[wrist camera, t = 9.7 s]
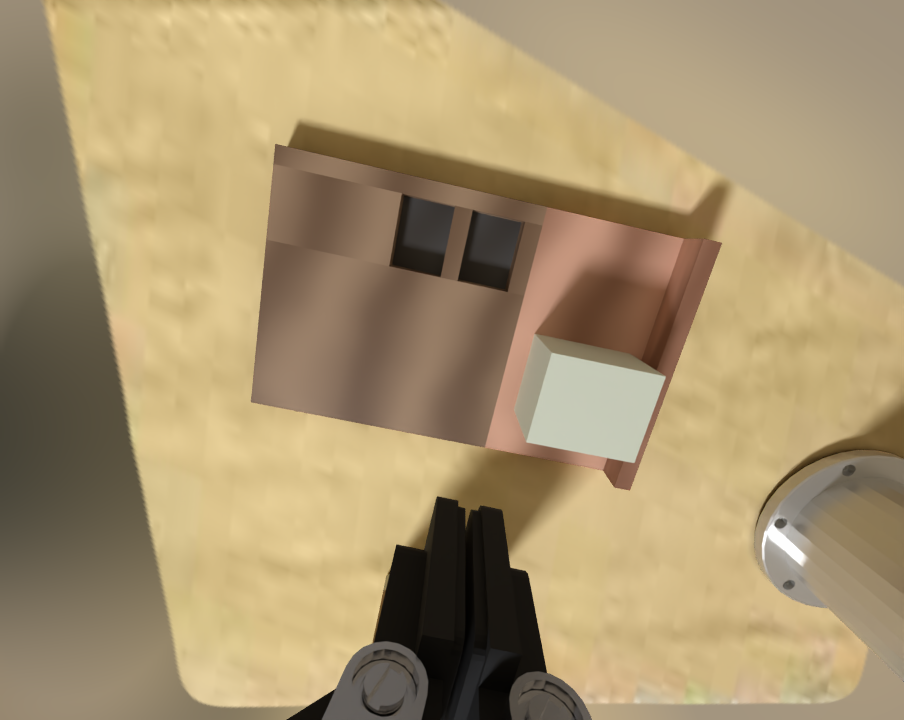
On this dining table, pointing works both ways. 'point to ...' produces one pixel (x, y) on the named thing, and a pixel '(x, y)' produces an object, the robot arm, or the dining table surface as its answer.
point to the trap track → (452, 301)
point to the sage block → (586, 398)
